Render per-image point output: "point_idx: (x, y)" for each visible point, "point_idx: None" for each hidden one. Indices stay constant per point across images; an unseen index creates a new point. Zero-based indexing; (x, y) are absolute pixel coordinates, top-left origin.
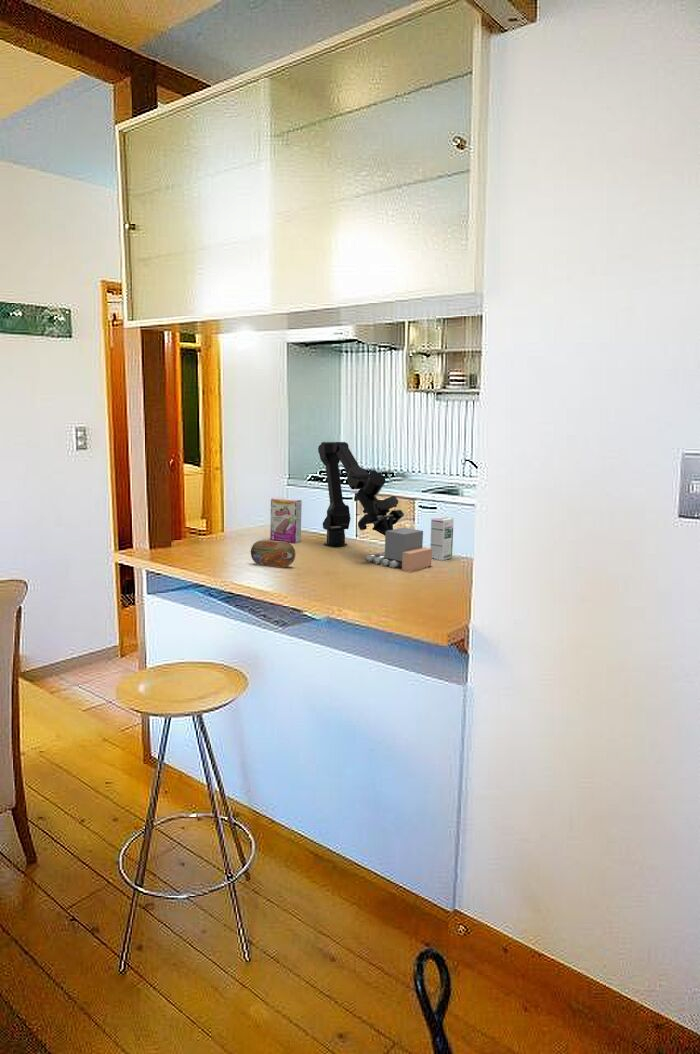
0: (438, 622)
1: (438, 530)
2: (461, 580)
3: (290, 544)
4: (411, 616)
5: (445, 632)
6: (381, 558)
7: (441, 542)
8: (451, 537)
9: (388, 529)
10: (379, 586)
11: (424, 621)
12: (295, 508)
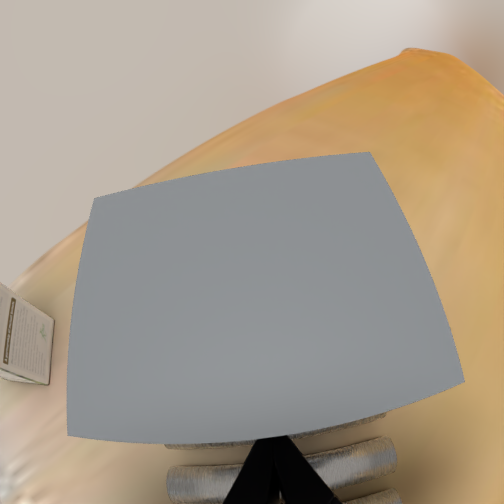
0: (444, 60)
1: None
2: (254, 119)
3: None
4: (470, 79)
5: (446, 53)
6: (357, 449)
7: (1, 295)
8: None
9: (329, 501)
10: (495, 178)
11: (459, 68)
12: None
